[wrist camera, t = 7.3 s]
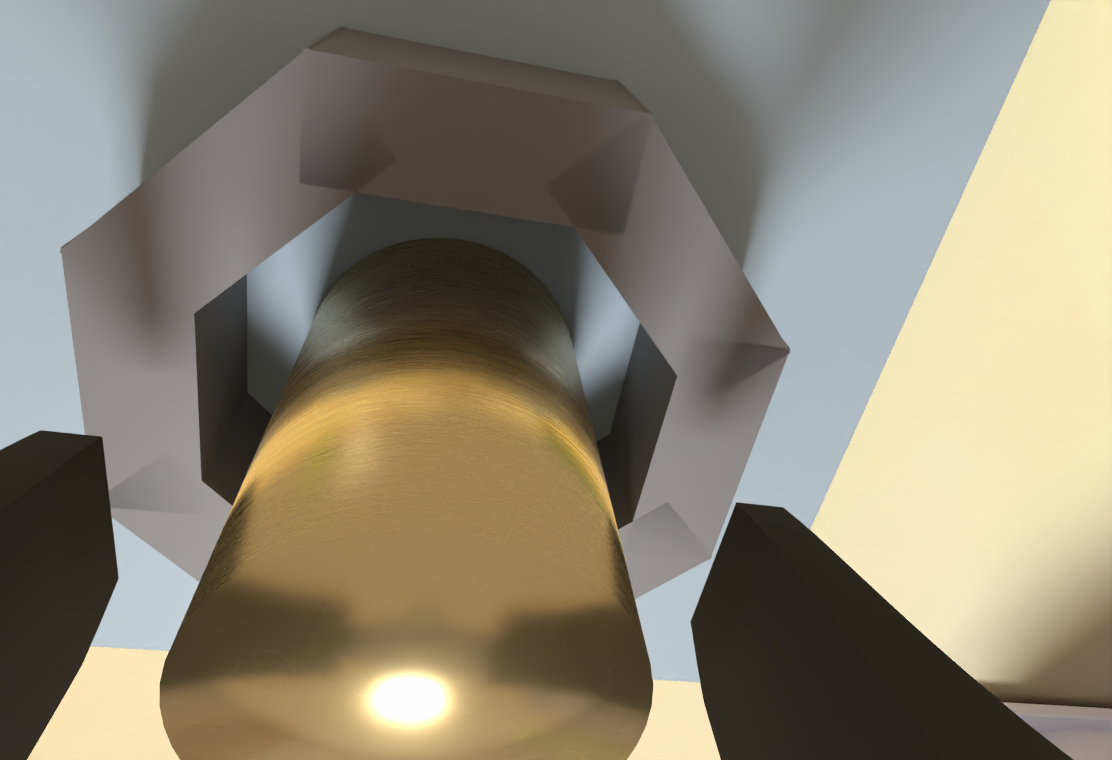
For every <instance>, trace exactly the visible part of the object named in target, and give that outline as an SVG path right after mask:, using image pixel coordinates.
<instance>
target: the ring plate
mask: <svg viewBox="0 0 1112 760" xmlns="http://www.w3.org/2000/svg"><path fill="white" fill-rule="evenodd" d="M1049 2H1050V0H0V450H1V449H3V448H5V447H7V446H9V445H11V444H13V443H15V442H17V441H19V440H21V439H23V438H25V437H27V436H29V435H31V434H33V433H36V432H38V431H40V430H43V431H53V432H63V433H72V434H82V435H92V436H101V437H102V438H103V447H104V456H105V464H106V473H107V481H108V490H109V499H110V507H111V516H112V524H113V533H114V542H115V550H116V559H117V567H118V576H119V579H118V582H117V584H116V586H115V589H114V591H113V594H112V596H111V599H110V601H109V603H108V606H107V608H106V611H105V613H104V616H103V618H102V620H101V623H100V625H99V627H98V630H97V632H96V634H95V636H94V639H93V641H92V643H91V645H90V646H94V647H111V648H128V649H145V650H162V651H170V648H171V646H172V644H173V642H174V639H175V637H176V635H177V632H178V630H179V628H180V626H181V623H182V621H183V619H184V616H185V614H186V612H187V609H188V607H189V605H190V603H191V600H192V598H193V596H194V593H195V591H196V589H197V587H198V584H199V582H200V580H201V577H202V575H203V573H204V570H205V568H206V566H207V564H208V561H209V559H210V557H211V554H212V552H213V550H214V548H215V545H216V543H217V541H218V538H219V536H220V534H221V532H222V529H223V527H224V525H225V522H226V520H227V518H228V515H229V513H230V511H231V509H232V506H233V504H234V502H235V499H236V497H237V495H238V493H239V490H240V488H241V486H242V483H243V481H244V479H245V476H246V474H247V472H248V470H249V467H250V465H251V463H252V460H253V458H254V456H255V454H256V451H257V449H258V447H259V444H260V442H261V440H262V437H263V435H264V433H265V431H266V428H267V426H268V424H269V421H270V419H271V417H272V415H273V412H274V410H275V408H276V405H277V403H278V401H279V399H280V396H281V394H282V392H283V389H284V387H285V385H286V382H287V380H288V378H289V376H290V373H291V371H292V369H293V366H294V364H295V362H296V360H297V357H298V355H299V353H300V350H301V348H302V346H303V343H304V341H305V339H306V337H307V334H308V332H309V330H310V327H311V325H312V323H313V321H314V318H315V316H316V314H317V311H318V309H319V307H320V305H321V303H322V301H323V299H324V297H325V296H326V294H327V293H328V291H329V290H330V288H331V287H332V286H333V285H334V283H335V282H336V281H337V280H338V279H339V278H340V277H341V276H342V274H344V273H345V272H346V271H347V270H348V269H350V268H351V267H352V266H353V265H354V264H356V263H357V262H359V261H360V260H362V259H363V258H365V257H367V256H368V255H370V254H372V253H374V252H376V251H378V250H381V249H383V248H385V247H388V246H391V245H394V244H398V243H401V242H404V241H410V240H416V239H422V238H451V239H461V240H466V241H470V242H475V243H479V244H482V245H485V246H488V247H491V248H494V249H496V250H498V251H500V252H502V253H504V254H506V255H508V256H510V257H512V258H513V259H515V260H516V261H518V262H519V263H521V264H522V265H524V266H525V267H527V268H528V269H529V270H530V271H531V272H532V273H534V274H535V275H536V276H537V277H538V278H539V279H540V280H541V281H542V282H543V283H544V285H545V286H546V287H547V288H548V289H549V290H550V292H551V293H552V295H553V296H554V298H555V299H556V301H557V302H558V304H559V306H560V308H561V310H562V312H563V314H564V316H565V319H566V322H567V325H568V328H569V332H570V335H571V340H572V344H573V348H574V352H575V356H576V360H577V364H578V368H579V372H580V377H581V381H582V385H583V389H584V393H585V397H586V401H587V405H588V409H589V413H590V418H591V422H592V426H593V430H594V434H595V438H596V442H597V446H598V450H599V455H600V459H601V463H602V467H603V471H604V475H605V479H606V483H607V487H608V491H609V496H610V500H611V504H612V508H613V512H614V516H615V520H616V524H617V528H618V533H619V537H620V541H621V545H622V549H623V553H624V557H625V561H626V565H627V569H628V574H629V578H630V582H631V586H632V590H633V594H634V598H635V602H636V606H637V611H638V615H639V619H640V623H641V627H642V631H643V635H644V639H645V643H646V647H647V652H648V656H649V660H650V664H651V672H652V679H654V680H671V681H688V682H700V677H699V672H698V667H697V660H696V654H695V647H694V641H693V634H692V628H691V619H692V616H693V614H694V611H695V609H696V606H697V603H698V601H699V598H700V596H701V593H702V590H703V588H704V585H705V583H706V580H707V577H708V575H709V572H710V570H711V567H712V564H713V562H714V559H715V557H716V554H717V551H718V549H719V546H720V544H721V541H722V538H723V536H724V533H725V530H726V528H727V525H728V523H729V520H730V517H731V515H732V512H733V510H734V507H735V504H736V502H738V503H748V504H757V505H767V506H777V507H783V508H785V509H786V510H787V511H788V512H789V513H791V514H792V515H793V516H794V517H796V518H797V519H798V520H799V521H800V522H801V523H803V524H804V525H805V526H806V527H807V528H808V529H809V530H810V528H811V526H812V524H813V522H814V519H815V517H816V515H817V513H818V511H819V508H820V506H821V504H822V502H823V500H824V497H825V495H826V493H827V491H828V489H829V486H830V484H831V482H832V480H833V478H834V475H835V473H836V471H837V469H838V467H839V464H840V462H841V460H842V458H843V456H844V453H845V451H846V449H847V447H848V445H849V442H850V440H851V438H852V436H853V434H854V431H855V429H856V427H857V425H858V423H859V420H860V418H861V416H862V414H863V412H864V409H865V407H866V405H867V403H868V401H869V398H870V396H871V394H872V392H873V390H874V387H875V385H876V383H877V381H878V379H879V376H880V374H881V372H882V370H883V368H884V365H885V363H886V361H887V359H888V357H889V354H890V352H891V350H892V348H893V346H894V343H895V341H896V339H897V337H898V335H899V332H900V330H901V328H902V326H903V324H904V321H905V319H906V317H907V315H908V313H909V310H910V308H911V306H912V304H913V302H914V299H915V297H916V295H917V293H918V291H919V288H920V286H921V284H922V282H923V280H924V277H925V275H926V273H927V271H928V269H929V266H930V264H931V262H932V260H933V258H934V255H935V253H936V251H937V249H938V247H939V244H940V242H941V240H942V238H943V236H944V233H945V231H946V229H947V227H948V225H949V222H950V220H951V218H952V216H953V214H954V211H955V209H956V207H957V205H958V203H959V200H960V198H961V196H962V194H963V192H964V189H965V187H966V185H967V183H968V181H969V178H970V176H971V174H972V172H973V170H974V167H975V165H976V163H977V161H978V159H979V156H980V154H981V152H982V150H983V148H984V145H985V143H986V141H987V139H988V137H989V134H990V132H991V130H992V128H993V126H994V123H995V121H996V119H997V117H998V115H999V112H1000V110H1001V108H1002V106H1003V104H1004V101H1005V99H1006V97H1007V95H1008V93H1009V90H1010V88H1011V86H1012V84H1013V82H1014V79H1015V77H1016V75H1017V73H1018V71H1019V68H1020V66H1021V64H1022V62H1023V60H1024V57H1025V55H1026V53H1027V51H1028V49H1029V46H1030V44H1031V42H1032V40H1033V38H1034V35H1035V33H1036V31H1037V29H1038V27H1039V24H1040V22H1041V20H1042V18H1043V16H1044V13H1045V11H1046V9H1047V7H1048V5H1049Z"/></svg>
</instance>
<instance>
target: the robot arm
mask: <svg viewBox="0 0 1112 760" xmlns="http://www.w3.org/2000/svg"><path fill="white" fill-rule="evenodd" d="M118 579H119V576H118V567H117V559H116V550H115V542H114V533H113V524H112V516H111V507H110V499H109V490H108V481H107V473H106V464H105V456H104V447H103V438H102V437H101V436H92V435H82V434H72V433H63V432H53V431H43V430H40V431H38V432H36V433H33V434H31V435H29V436H27V437H25V438H23V439H21V440H19V441H17V442H15V443H13V444H11V445H9V446H7V447H5V448H3V449H1V450H0V760H27V758H28V757H29V755H30V753H31V752H32V750H33V748H34V747H35V745H36V743H37V742H38V740H39V738H40V736H41V735H42V733H43V731H44V730H45V728H46V726H47V724H48V723H49V721H50V719H51V718H52V716H53V714H54V712H55V711H56V709H57V707H58V706H59V704H60V702H61V700H62V699H63V697H64V695H65V693H66V692H67V690H68V688H69V687H70V685H71V683H72V681H73V680H74V678H75V676H76V674H77V672H78V671H79V669H80V667H81V665H82V663H83V661H84V659H85V657H86V654H87V652H88V650H89V648H90V645H91V643H92V641H93V639H94V636H95V634H96V632H97V630H98V627H99V625H100V623H101V620H102V618H103V616H104V613H105V611H106V608H107V606H108V603H109V601H110V599H111V596H112V594H113V591H114V589H115V586H116V584H117V582H118ZM691 628H692V634H693V641H694V647H695V654H696V660H697V667H698V672H699V677H700V683H701V688H702V694H703V699H704V703H705V707H706V710H707V714H708V717H709V721H710V724H711V727H712V731H713V734H714V738H715V741H716V744H717V748H718V751H719V754H720V758H721V760H1112V709H1111V708H1094V707H1077V706H1060V705H1043V704H1025V703H1008V702H1001V701H1000V700H999V699H997V698H996V697H995V696H994V695H993V694H992V693H990V692H989V691H988V690H987V689H986V688H984V687H983V686H982V685H981V684H980V683H978V682H977V681H976V680H975V679H974V678H972V677H971V676H970V675H969V674H968V673H966V672H965V671H964V670H963V669H962V668H961V667H960V666H958V665H957V664H956V663H955V662H954V661H953V660H952V659H951V658H949V657H948V656H947V655H946V654H945V653H944V652H943V651H941V650H940V649H939V648H938V647H937V646H936V645H935V644H933V643H932V642H931V641H930V640H929V639H928V638H927V637H926V636H925V635H923V634H922V633H921V632H920V631H919V630H918V629H917V628H916V627H915V626H913V625H912V624H911V623H910V622H909V621H908V620H907V619H906V618H905V617H904V616H903V615H901V614H900V613H899V612H898V611H897V610H896V609H895V608H894V607H893V606H892V605H891V604H889V603H888V602H887V601H886V600H885V599H884V598H883V597H882V596H881V595H880V594H879V593H878V592H876V591H875V590H874V589H873V588H872V587H871V586H870V585H869V584H868V583H867V582H866V581H865V580H864V579H863V578H861V577H860V576H859V575H858V574H857V573H856V572H855V571H854V570H853V569H852V568H851V567H850V566H849V565H848V564H846V563H845V562H844V561H843V560H842V559H841V558H840V557H839V556H838V555H837V554H836V553H835V552H834V551H832V550H831V549H830V548H829V547H828V546H827V545H826V544H825V543H824V542H823V541H822V540H820V539H819V538H818V537H817V536H816V535H815V534H814V533H813V532H812V531H811V530H809V529H808V528H807V527H806V526H805V525H804V524H803V523H801V522H800V521H799V520H798V519H797V518H796V517H794V516H793V515H792V514H791V513H789V512H788V511H787V510H786V509H785V508H783V507H777V506H767V505H757V504H748V503H738V502H736V504H735V507H734V510H733V512H732V515H731V517H730V520H729V523H728V525H727V528H726V530H725V533H724V536H723V538H722V541H721V544H720V546H719V549H718V551H717V554H716V557H715V559H714V562H713V564H712V567H711V570H710V572H709V575H708V577H707V580H706V583H705V585H704V588H703V590H702V593H701V596H700V598H699V601H698V603H697V606H696V609H695V611H694V614H693V616H692V619H691Z"/></svg>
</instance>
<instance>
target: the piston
mask: <svg viewBox="0 0 1112 760" xmlns="http://www.w3.org/2000/svg"><path fill="white" fill-rule="evenodd" d="M652 693H653V680H652V672H651V664H650V660H649V656H648V652H647V647H646V643H645V639H644V635H643V631H642V627H641V623H640V619H639V615H638V611H637V606H636V602H635V598H634V594H633V590H632V586H631V582H630V578H629V574H628V569H627V565H626V561H625V557H624V553H623V549H622V545H621V541H620V537H619V533H618V528H617V524H616V520H615V516H614V512H613V508H612V504H611V500H610V496H609V491H608V487H607V483H606V479H605V475H604V471H603V467H602V463H601V459H600V455H599V450H598V446H597V442H596V438H595V434H594V430H593V426H592V422H591V418H590V413H589V409H588V405H587V401H586V397H585V393H584V389H583V385H582V381H581V377H580V372H579V368H578V364H577V360H576V356H575V352H574V348H573V344H572V340H571V335H570V332H569V328H568V325H567V322H566V319H565V316H564V314H563V312H562V310H561V308H560V306H559V304H558V302H557V301H556V299H555V298H554V296H553V295H552V293H551V292H550V290H549V289H548V288H547V287H546V286H545V285H544V283H543V282H542V281H541V280H540V279H539V278H538V277H537V276H536V275H535V274H534V273H532V272H531V271H530V270H529V269H528V268H527V267H525V266H524V265H522V264H521V263H519V262H518V261H516V260H515V259H513V258H512V257H510V256H508V255H506V254H504V253H502V252H500V251H498V250H496V249H494V248H491V247H488V246H485V245H482V244H479V243H475V242H470V241H466V240H461V239H451V238H422V239H416V240H410V241H404V242H401V243H398V244H394V245H391V246H388V247H385V248H383V249H381V250H378V251H376V252H374V253H372V254H370V255H368V256H367V257H365V258H363V259H362V260H360V261H359V262H357V263H356V264H354V265H353V266H352V267H351V268H350V269H348V270H347V271H346V272H345V273H344V274H342V276H341V277H340V278H339V279H338V280H337V281H336V282H335V283H334V285H333V286H332V287H331V288H330V290H329V291H328V293H327V294H326V296H325V297H324V299H323V301H322V303H321V305H320V307H319V309H318V311H317V314H316V316H315V318H314V321H313V323H312V325H311V327H310V330H309V332H308V334H307V337H306V339H305V341H304V343H303V346H302V348H301V350H300V353H299V355H298V357H297V360H296V362H295V364H294V366H293V369H292V371H291V373H290V376H289V378H288V380H287V382H286V385H285V387H284V389H283V392H282V394H281V396H280V399H279V401H278V403H277V405H276V408H275V410H274V412H273V415H272V417H271V419H270V421H269V424H268V426H267V428H266V431H265V433H264V435H263V437H262V440H261V442H260V444H259V447H258V449H257V451H256V454H255V456H254V458H253V460H252V463H251V465H250V467H249V470H248V472H247V474H246V476H245V479H244V481H243V483H242V486H241V488H240V490H239V493H238V495H237V497H236V499H235V502H234V504H233V506H232V509H231V511H230V513H229V515H228V518H227V520H226V522H225V525H224V527H223V529H222V532H221V534H220V536H219V538H218V541H217V543H216V545H215V548H214V550H213V552H212V554H211V557H210V559H209V561H208V564H207V566H206V568H205V570H204V573H203V575H202V577H201V580H200V582H199V584H198V587H197V589H196V591H195V593H194V596H193V598H192V600H191V603H190V605H189V607H188V609H187V612H186V614H185V616H184V619H183V621H182V623H181V626H180V628H179V630H178V632H177V635H176V637H175V639H174V642H173V644H172V646H171V648H170V651H169V653H168V655H167V658H166V660H165V663H164V668H163V672H162V677H161V681H160V709H161V714H162V719H163V724H164V728H165V731H166V733H167V735H168V738H169V740H170V742H171V745H172V747H173V749H174V750H175V752H176V753H177V755H178V757H179V758H180V760H627V758H628V757H629V755H630V754H631V752H632V751H633V750H634V748H635V747H636V745H637V743H638V741H639V739H640V737H641V735H642V733H643V731H644V729H645V726H646V724H647V720H648V716H649V713H650V709H651V705H652Z"/></svg>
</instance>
